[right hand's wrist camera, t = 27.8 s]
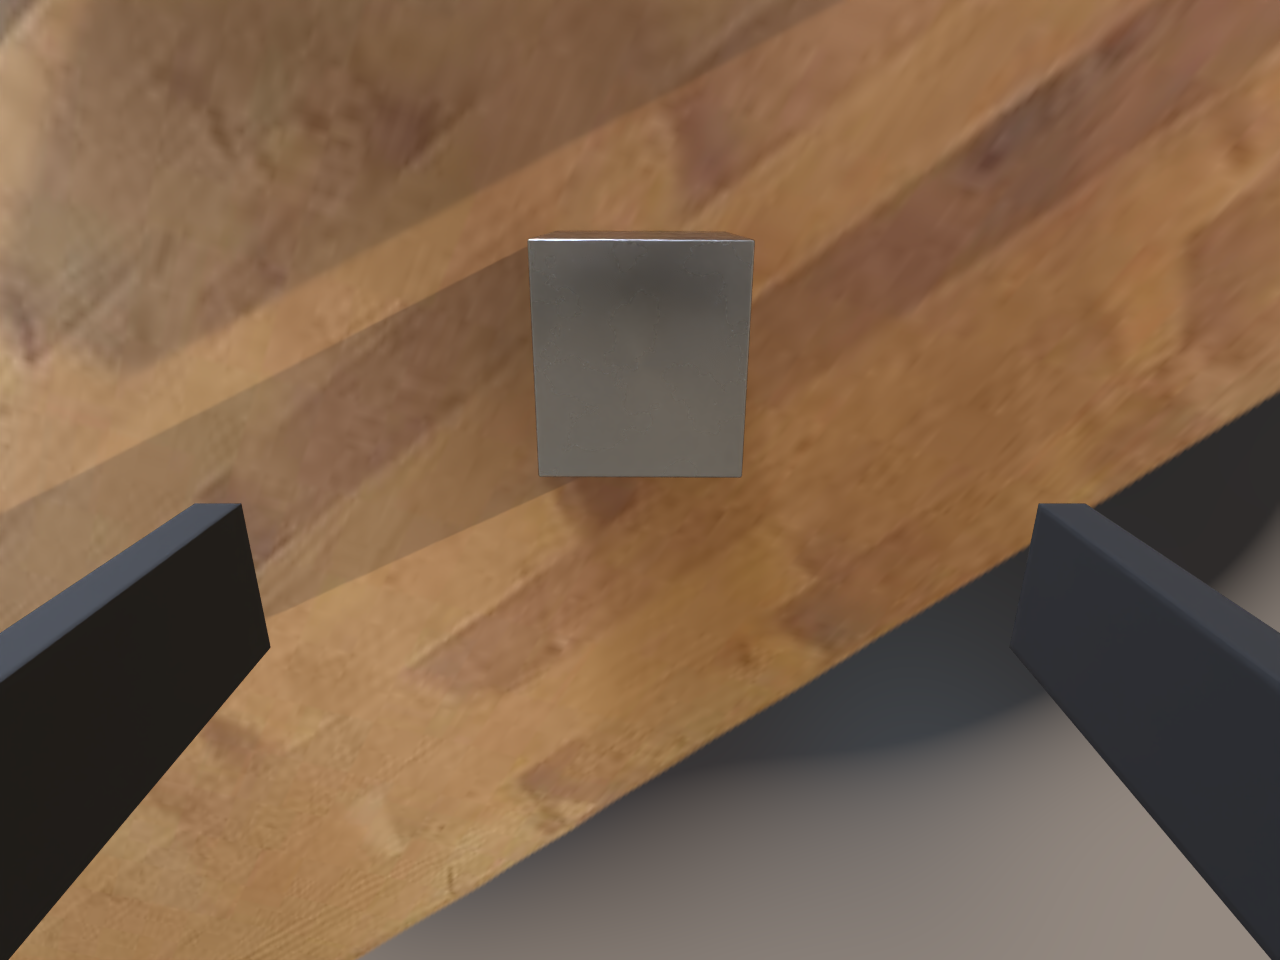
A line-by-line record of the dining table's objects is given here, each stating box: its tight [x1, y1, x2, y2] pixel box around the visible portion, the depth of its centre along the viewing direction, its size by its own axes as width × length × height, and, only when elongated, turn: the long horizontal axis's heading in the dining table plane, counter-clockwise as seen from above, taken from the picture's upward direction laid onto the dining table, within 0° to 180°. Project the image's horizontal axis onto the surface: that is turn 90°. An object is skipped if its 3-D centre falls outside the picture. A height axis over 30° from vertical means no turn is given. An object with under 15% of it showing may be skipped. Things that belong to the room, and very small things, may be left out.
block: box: [528, 231, 755, 477], centre depth 33 cm, size 8×9×9 cm
